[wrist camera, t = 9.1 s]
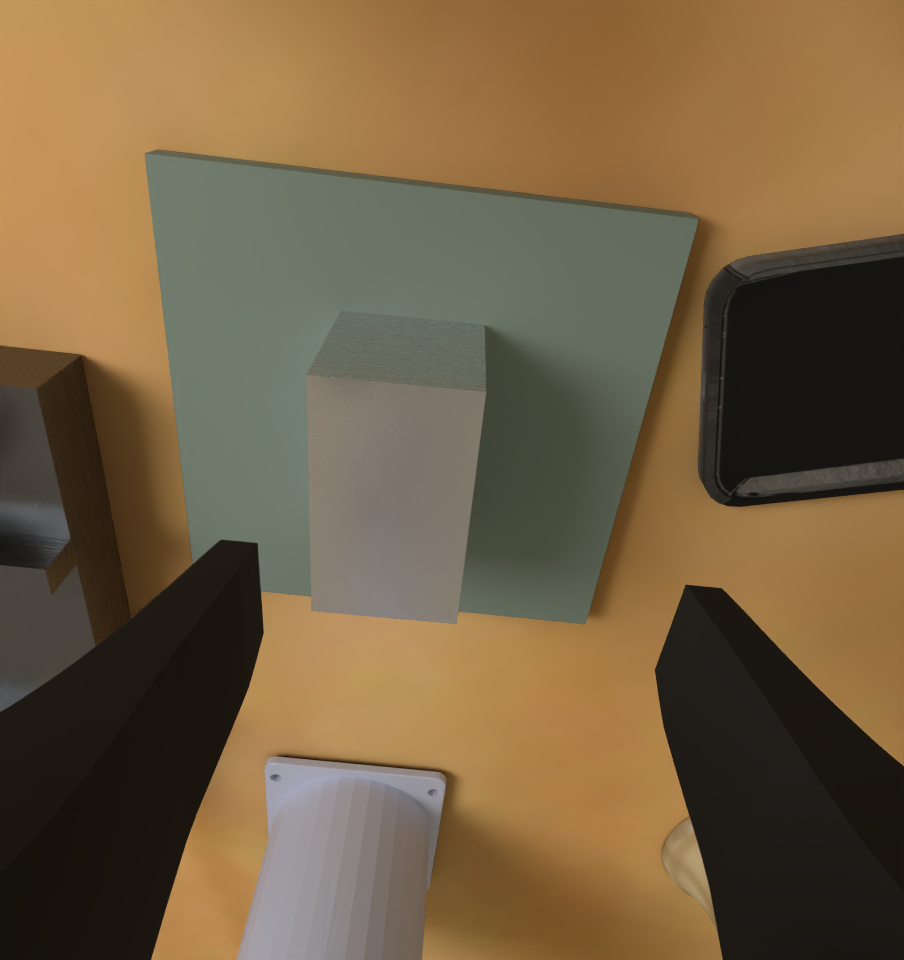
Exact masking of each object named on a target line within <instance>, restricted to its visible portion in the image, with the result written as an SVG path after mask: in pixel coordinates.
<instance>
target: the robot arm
mask: <svg viewBox="0 0 904 960" xmlns="http://www.w3.org/2000/svg"><path fill="white" fill-rule="evenodd" d="M263 633H264V631H263V615H262V600H261V585H260V570H259V555H258V543H253V542H243V541H232V540H222V539H221V540H220V541H218V542H217V543H216V544H215V545H213V546H212V547H211V548H210V549H209V550H208V551H207V552H206V553H204V554H203V555H202V556H201V557H200V558H199V559H198V560H197V561H196V562H195V563H193V564H192V565H191V566H190V567H189V568H188V569H187V570H186V571H185V572H184V573H182V574H181V575H180V576H179V577H178V578H177V579H176V580H175V581H174V582H172V583H171V584H170V585H169V586H168V587H167V588H166V589H165V590H163V591H162V592H161V593H160V594H159V595H158V596H156V597H155V598H154V599H153V600H152V601H151V602H149V603H148V604H147V605H146V606H145V607H143V608H142V609H141V610H140V611H139V612H138V613H136V614H135V615H134V616H133V617H132V618H131V619H129V620H128V621H127V622H126V623H125V624H123V625H122V626H121V627H120V628H118V629H117V630H116V631H114V632H113V633H112V634H111V635H109V636H108V637H107V638H105V639H104V640H103V641H102V642H100V643H99V644H98V645H96V646H95V647H94V648H93V649H91V650H90V651H89V652H87V653H86V654H85V655H83V656H82V657H81V658H80V659H78V660H77V661H76V662H74V663H73V664H71V665H70V666H69V667H67V668H66V669H64V670H63V671H62V672H60V673H59V674H57V675H56V676H55V677H53V678H52V679H50V680H49V681H47V682H46V683H45V684H43V685H42V686H40V687H39V688H37V689H36V690H34V691H32V692H31V693H29V694H28V695H26V696H25V697H23V698H22V699H20V700H19V701H17V702H16V703H14V704H13V705H11V706H9V707H8V708H6V709H5V710H3V711H1V712H0V960H151V958H152V954H153V951H154V947H155V944H156V941H157V937H158V934H159V930H160V927H161V923H162V920H163V917H164V913H165V910H166V906H167V903H168V900H169V896H170V893H171V890H172V887H173V883H174V880H175V877H176V874H177V870H178V867H179V864H180V861H181V858H182V854H183V851H184V848H185V845H186V841H187V839H188V836H189V833H190V830H191V828H192V825H193V822H194V820H195V817H196V814H197V812H198V809H199V807H200V804H201V802H202V799H203V797H204V795H205V792H206V790H207V787H208V785H209V783H210V780H211V778H212V775H213V773H214V771H215V768H216V766H217V763H218V761H219V759H220V756H221V754H222V751H223V749H224V747H225V744H226V742H227V739H228V737H229V735H230V732H231V730H232V727H233V725H234V722H235V720H236V717H237V715H238V713H239V710H240V708H241V705H242V703H243V700H244V698H245V695H246V693H247V690H248V688H249V684H250V681H251V677H252V674H253V670H254V667H255V663H256V660H257V656H258V652H259V648H260V645H261V641H262V637H263ZM655 673H656V681H657V688H658V695H659V702H660V708H661V714H662V720H663V725H664V729H665V733H666V737H667V740H668V744H669V747H670V751H671V754H672V758H673V761H674V765H675V768H676V772H677V775H678V779H679V782H680V785H681V789H682V792H683V796H684V799H685V802H686V806H687V809H688V813H689V816H690V819H691V823H692V826H693V830H694V833H695V836H696V840H697V843H698V846H699V850H700V853H701V857H702V861H703V865H704V869H705V873H706V877H707V881H708V885H709V889H710V894H711V899H712V905H713V910H714V915H715V920H716V925H717V931H718V936H719V941H720V946H721V952H722V957H723V960H904V766H903V765H902V764H900V763H899V762H898V761H897V760H895V759H894V758H893V757H892V756H891V755H890V754H888V753H887V752H886V751H885V750H884V749H883V748H882V747H880V746H879V745H878V744H877V743H876V742H875V741H874V740H872V739H871V738H870V737H869V736H868V735H867V734H866V733H865V732H864V731H863V730H862V729H861V728H859V727H858V726H857V725H856V724H855V723H854V722H853V721H852V720H851V719H850V718H849V717H848V716H846V715H845V714H844V713H843V712H842V711H841V710H840V709H839V708H838V707H837V706H836V705H835V704H834V703H833V702H832V701H831V700H830V699H829V698H828V697H827V696H826V695H825V694H823V693H822V692H821V691H820V690H819V689H818V688H817V687H816V686H815V685H814V684H813V683H812V682H811V681H810V680H809V679H808V678H807V677H806V676H805V675H804V674H803V673H802V671H801V670H800V669H799V668H798V667H797V666H796V665H795V664H794V663H793V662H792V661H791V660H790V659H789V658H788V657H787V656H786V655H785V654H784V653H783V652H782V651H781V650H780V649H779V648H778V647H777V646H776V644H775V643H774V642H773V641H772V640H771V639H770V638H769V637H768V636H767V635H766V634H765V633H764V632H763V631H762V630H761V629H760V628H759V626H758V625H757V624H756V623H755V622H754V621H753V620H752V619H751V618H750V617H749V616H748V615H747V614H746V613H745V612H744V610H743V609H742V608H741V607H740V606H739V605H738V604H737V603H736V602H735V601H734V600H733V599H732V598H731V597H730V596H729V595H728V594H727V593H726V592H725V591H724V590H723V589H722V588H714V587H703V586H693V585H686V586H685V588H684V591H683V594H682V597H681V599H680V602H679V605H678V608H677V610H676V613H675V616H674V619H673V622H672V624H671V627H670V630H669V633H668V635H667V638H666V641H665V644H664V646H663V649H662V652H661V655H660V657H659V660H658V663H657V666H656V668H655ZM265 785H266V801H267V818H268V835H269V840H268V844H267V848H266V851H265V855H264V859H263V863H262V866H261V870H260V874H259V878H258V881H257V885H256V889H255V893H254V896H253V900H252V904H251V908H250V911H249V915H248V919H247V923H246V926H245V930H244V934H243V938H242V941H241V945H240V949H239V953H238V956H237V960H422V954H423V938H424V921H425V905H426V892H427V891H428V890H429V887H430V881H431V875H432V869H433V863H434V857H435V851H436V844H437V838H438V832H439V826H440V820H441V814H442V808H443V802H444V796H445V790H446V777H445V776H444V775H443V774H442V773H440V772H435V771H424V770H414V769H403V768H393V767H382V766H372V765H361V764H351V763H340V762H330V761H319V760H309V759H298V758H288V757H271V758H269V759H268V760H267V762H266V765H265Z"/></svg>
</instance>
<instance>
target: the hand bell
mask: <svg viewBox="0 0 904 960" xmlns="http://www.w3.org/2000/svg"><path fill="white" fill-rule="evenodd" d="M662 861H663V865H664V868H665V870H666V872H667V873H668V875H669V876H670V877H671V879H672V880H673V881H674V883H675V884H676V885H677V886H678V887H679V888H680V889H681V890H683V891H684V892H685V893H687V894H688V895H690V896H692V897H694V898H695V899H696V900H697V901H698V902H699V903H700V904H701V906H702V907H703V908H704V910H705V911H706V912H707V914H708V915H709V917H710V919H711V920H712V922H713V924H714V926H715V928H716V930H717V925H716V920H715V915H714V910H713V905H712V899H711V894H710V889H709V885H708V881H707V877H706V873H705V869H704V865H703V861H702V857H701V853H700V850H699V846H698V843H697V840H696V836H695V833H694V830H693V826H692V823H691V819H690V817H688V818H687V819H685V820H684V821H683V822H681V823H680V824H679V825H678V826H677V827H675V828H674V830H673V831H672V832H671V833H670V835H669V836H668V837H667V839H666V841H665V844H664V847H663V850H662ZM717 932H718V931H717Z"/></svg>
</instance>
